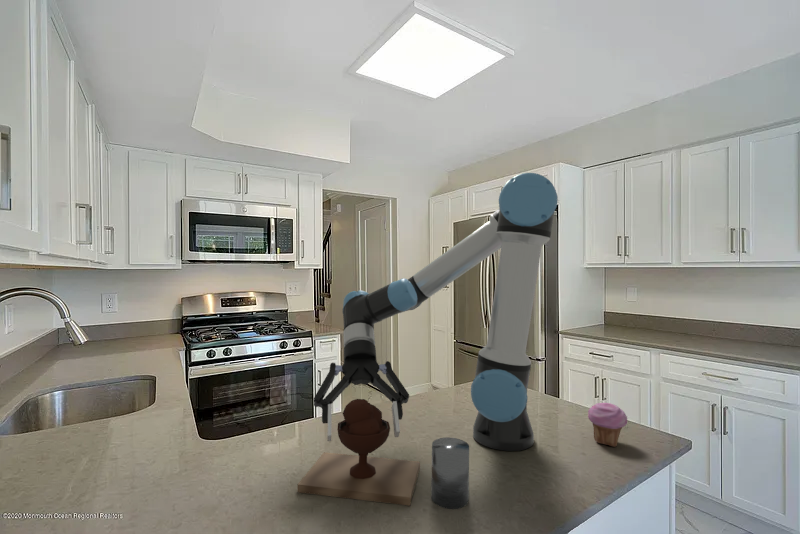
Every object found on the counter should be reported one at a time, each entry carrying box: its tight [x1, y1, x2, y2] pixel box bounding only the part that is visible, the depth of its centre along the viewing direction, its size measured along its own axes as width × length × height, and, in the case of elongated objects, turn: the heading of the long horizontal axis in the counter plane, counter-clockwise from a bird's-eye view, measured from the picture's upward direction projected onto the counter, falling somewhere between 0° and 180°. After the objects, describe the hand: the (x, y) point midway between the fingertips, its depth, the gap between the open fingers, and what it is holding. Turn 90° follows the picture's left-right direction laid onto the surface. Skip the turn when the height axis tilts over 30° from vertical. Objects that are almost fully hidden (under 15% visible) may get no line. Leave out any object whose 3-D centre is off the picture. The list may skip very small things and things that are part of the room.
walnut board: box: [296, 451, 421, 507], centre depth 82 cm, size 22×14×2 cm, turn 80°
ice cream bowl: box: [337, 398, 391, 479], centre depth 82 cm, size 11×11×15 cm
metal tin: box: [430, 436, 470, 510], centre depth 76 cm, size 7×7×10 cm
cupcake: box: [587, 402, 628, 448], centre depth 101 cm, size 9×9×10 cm
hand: (363, 436), depth 80 cm, fingers open, 13 cm apart
